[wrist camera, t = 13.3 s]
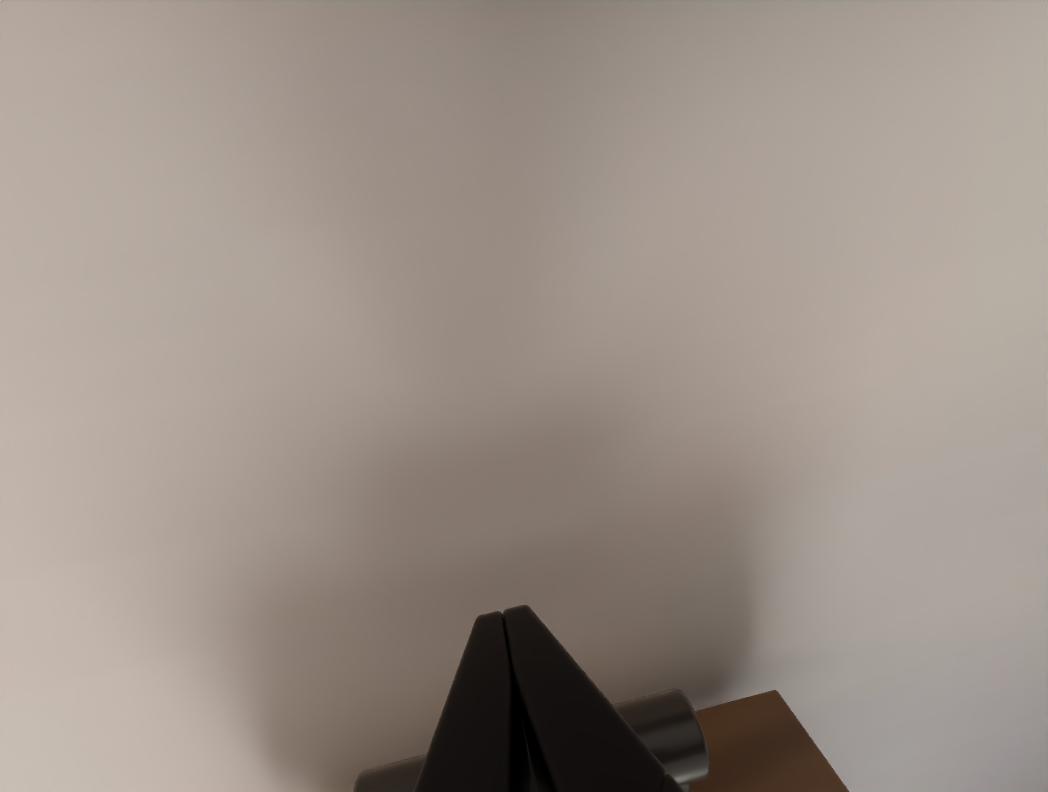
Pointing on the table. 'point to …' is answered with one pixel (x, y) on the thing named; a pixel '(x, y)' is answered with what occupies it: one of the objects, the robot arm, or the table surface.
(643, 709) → the drawer
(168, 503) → the table surface
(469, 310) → the table surface
